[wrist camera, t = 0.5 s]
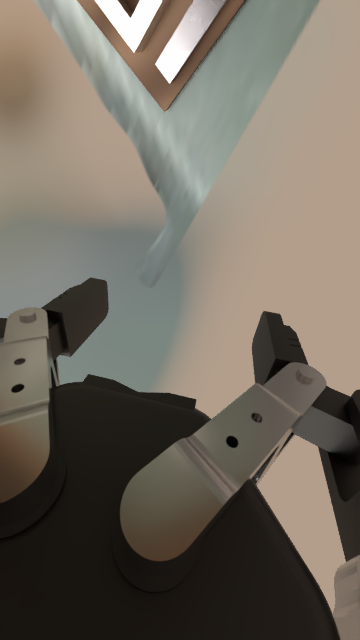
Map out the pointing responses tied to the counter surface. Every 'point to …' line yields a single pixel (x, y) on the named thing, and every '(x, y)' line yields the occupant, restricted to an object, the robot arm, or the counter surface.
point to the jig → (162, 37)
